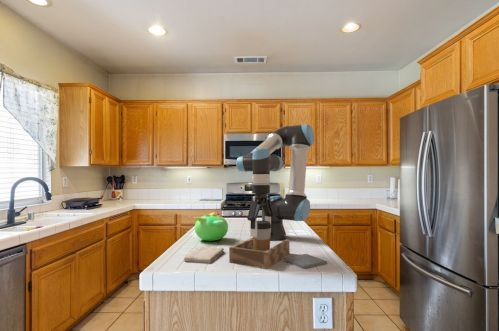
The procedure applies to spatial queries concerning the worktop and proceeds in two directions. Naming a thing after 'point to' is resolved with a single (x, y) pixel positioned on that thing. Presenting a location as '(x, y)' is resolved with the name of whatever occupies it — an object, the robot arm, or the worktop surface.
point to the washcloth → (204, 254)
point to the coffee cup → (262, 236)
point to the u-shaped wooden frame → (257, 254)
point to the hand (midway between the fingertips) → (261, 233)
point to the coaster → (305, 261)
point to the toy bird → (211, 227)
